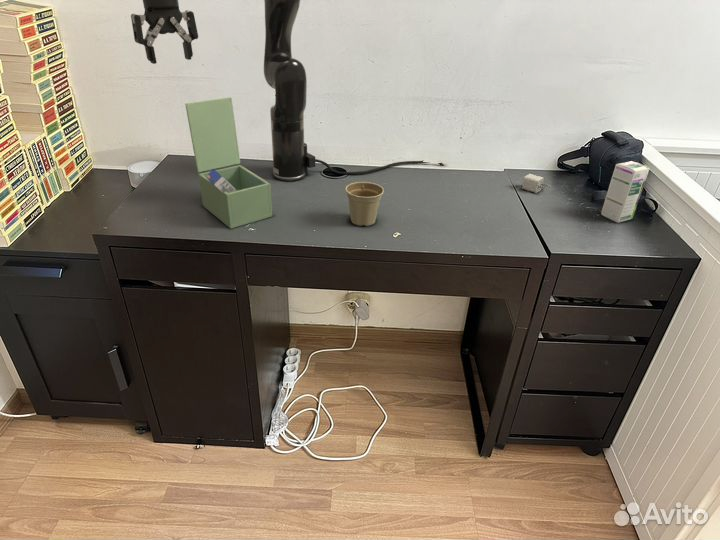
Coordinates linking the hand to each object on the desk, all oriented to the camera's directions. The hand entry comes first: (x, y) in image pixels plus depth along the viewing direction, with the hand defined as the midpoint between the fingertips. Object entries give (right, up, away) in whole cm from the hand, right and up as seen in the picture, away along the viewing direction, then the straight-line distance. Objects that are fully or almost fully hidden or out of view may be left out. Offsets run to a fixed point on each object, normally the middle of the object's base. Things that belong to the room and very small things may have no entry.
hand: (171, 61), depth 120 cm
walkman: (+16, -34, +7) cm, 39 cm away
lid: (+9, -16, +5) cm, 19 cm away
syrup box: (+113, -36, +14) cm, 120 cm away
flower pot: (+46, -38, +7) cm, 60 cm away
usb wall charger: (+97, -27, +28) cm, 104 cm away
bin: (+14, -35, +9) cm, 38 cm away
